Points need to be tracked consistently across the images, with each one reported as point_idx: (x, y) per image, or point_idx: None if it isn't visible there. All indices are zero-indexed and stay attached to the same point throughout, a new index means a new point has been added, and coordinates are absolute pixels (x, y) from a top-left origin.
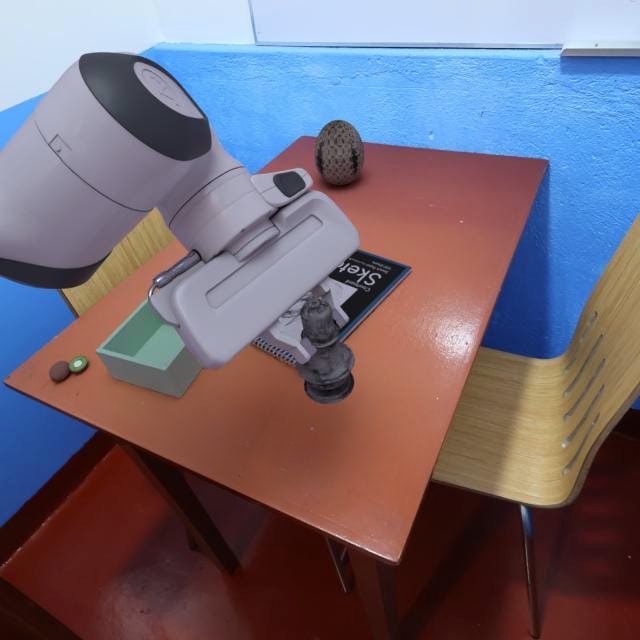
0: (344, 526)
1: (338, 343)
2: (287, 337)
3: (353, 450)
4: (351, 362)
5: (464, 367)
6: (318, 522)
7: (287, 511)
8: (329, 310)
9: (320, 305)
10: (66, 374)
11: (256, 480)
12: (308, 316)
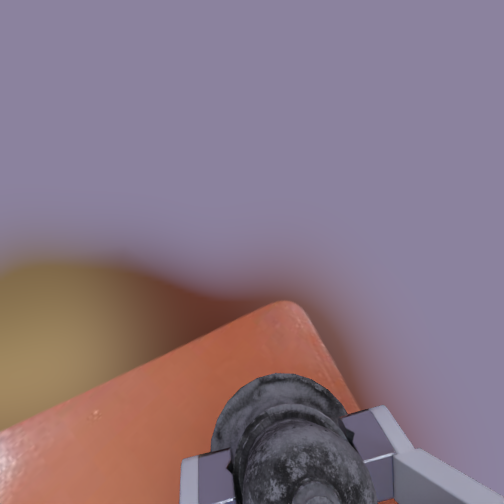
0: (316, 354)
1: None
2: (449, 484)
3: None
4: (242, 395)
5: (19, 425)
6: (339, 379)
7: None
8: (274, 440)
9: (299, 480)
10: None
11: None
12: (364, 477)
